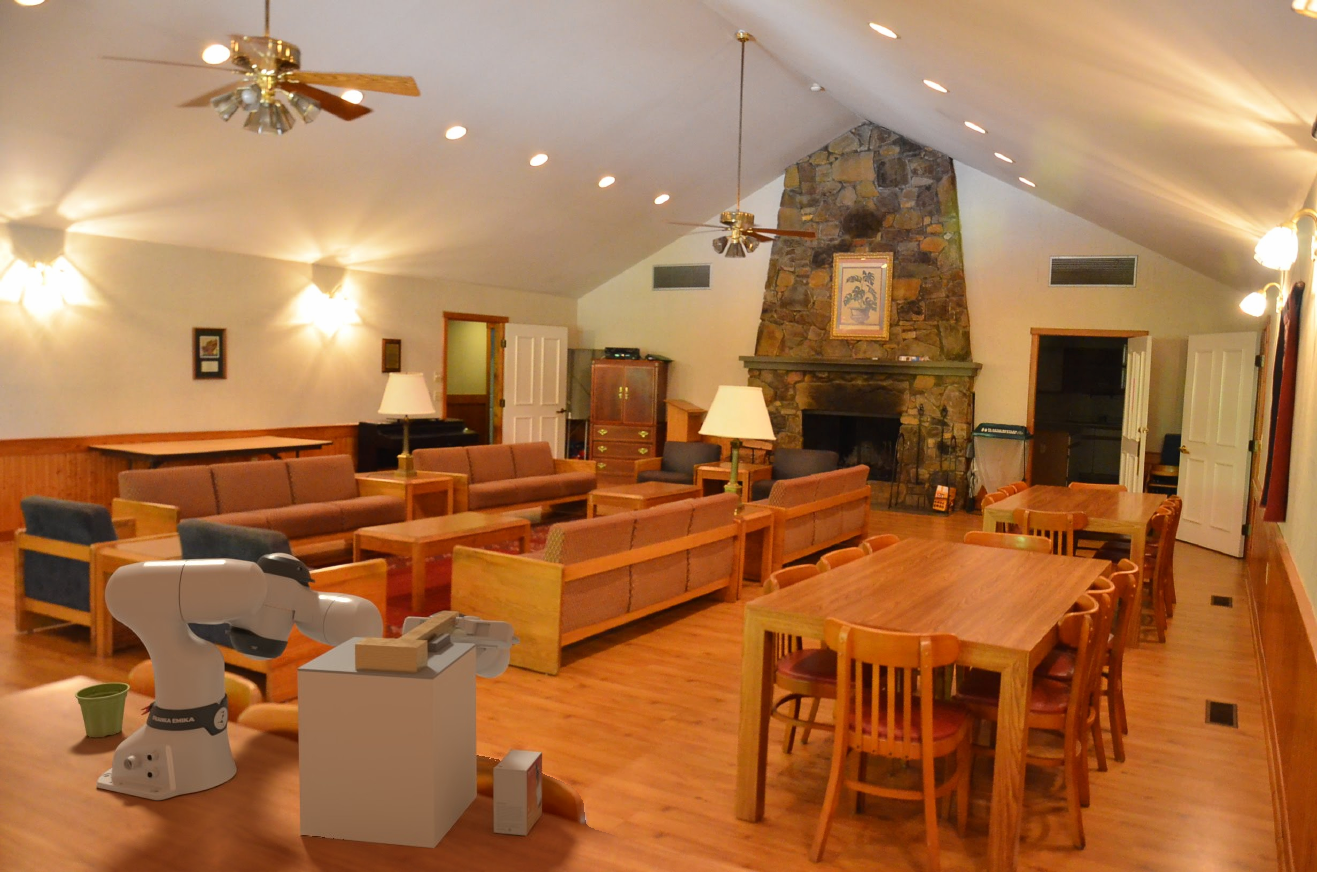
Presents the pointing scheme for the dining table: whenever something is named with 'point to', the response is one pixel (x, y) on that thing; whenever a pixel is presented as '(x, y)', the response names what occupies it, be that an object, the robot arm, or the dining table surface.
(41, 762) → the dining table surface
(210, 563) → the robot arm
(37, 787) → the dining table surface
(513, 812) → the small box
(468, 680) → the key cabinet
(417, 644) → the wooden t-shaped block
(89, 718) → the plant pot
